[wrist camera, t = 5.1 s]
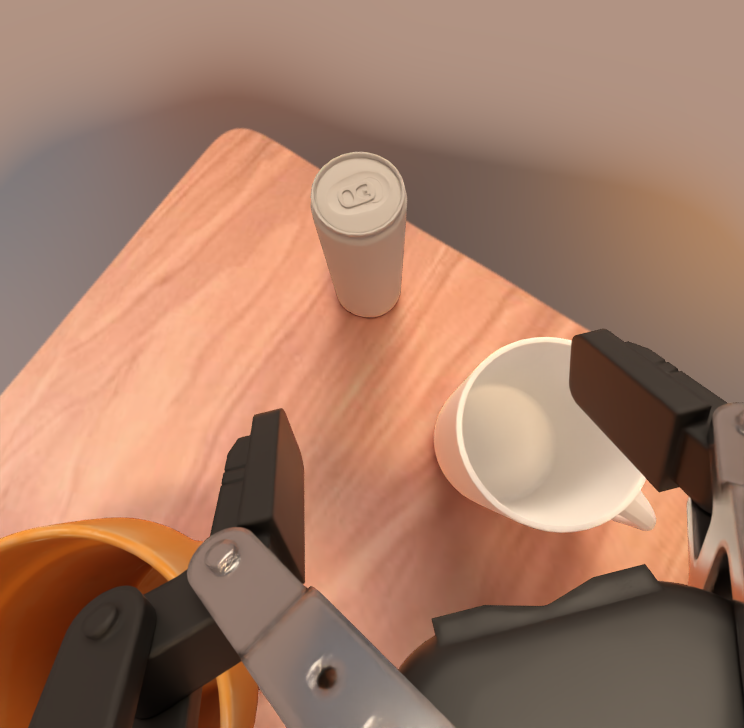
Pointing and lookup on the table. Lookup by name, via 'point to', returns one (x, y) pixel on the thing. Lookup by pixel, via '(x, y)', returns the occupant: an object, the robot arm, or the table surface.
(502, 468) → the mug
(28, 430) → the table surface
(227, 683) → the flower pot
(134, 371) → the table surface
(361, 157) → the beverage can
